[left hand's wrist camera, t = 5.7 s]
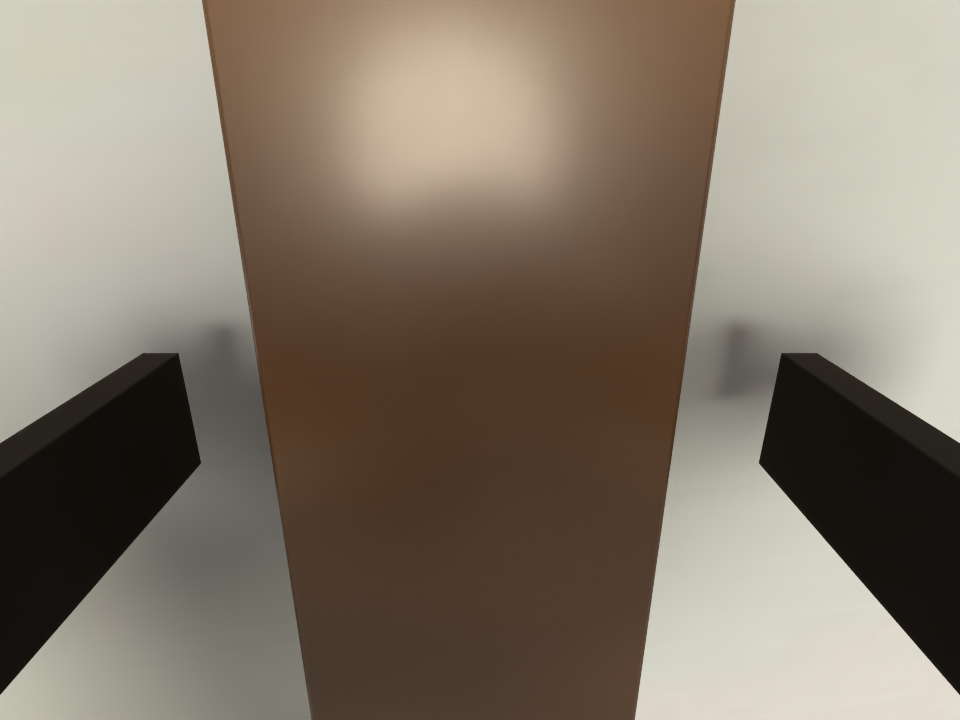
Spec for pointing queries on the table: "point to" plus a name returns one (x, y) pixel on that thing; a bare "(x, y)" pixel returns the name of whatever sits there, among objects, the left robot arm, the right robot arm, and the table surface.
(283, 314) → the bar
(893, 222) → the table surface
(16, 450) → the left robot arm
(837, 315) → the table surface
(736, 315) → the table surface
